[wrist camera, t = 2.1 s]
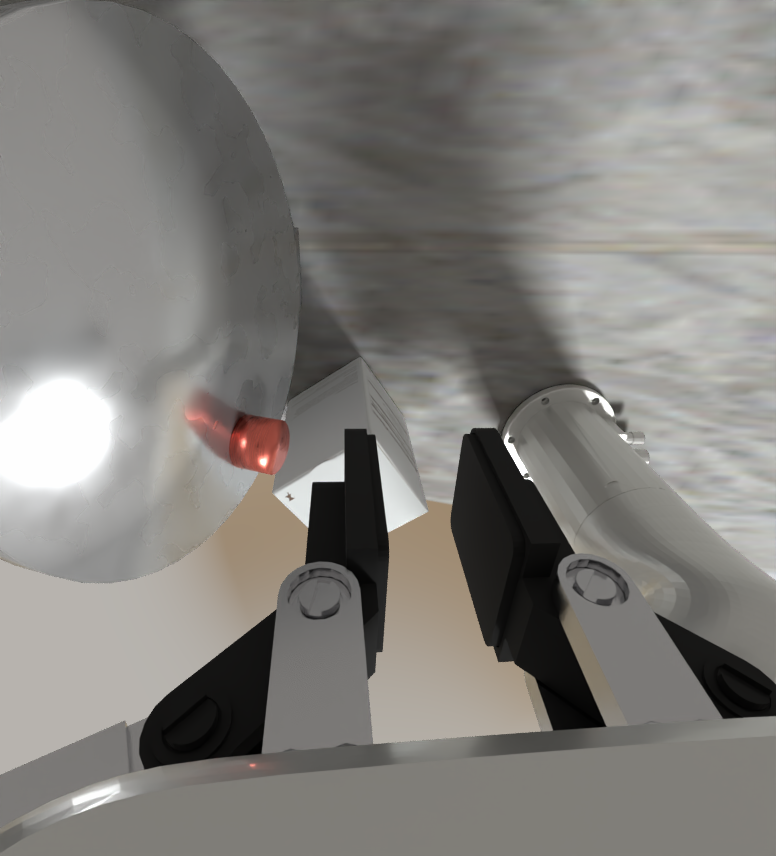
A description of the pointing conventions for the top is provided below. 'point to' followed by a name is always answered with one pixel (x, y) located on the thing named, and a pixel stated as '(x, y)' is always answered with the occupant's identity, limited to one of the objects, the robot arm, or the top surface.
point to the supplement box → (324, 443)
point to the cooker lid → (133, 293)
